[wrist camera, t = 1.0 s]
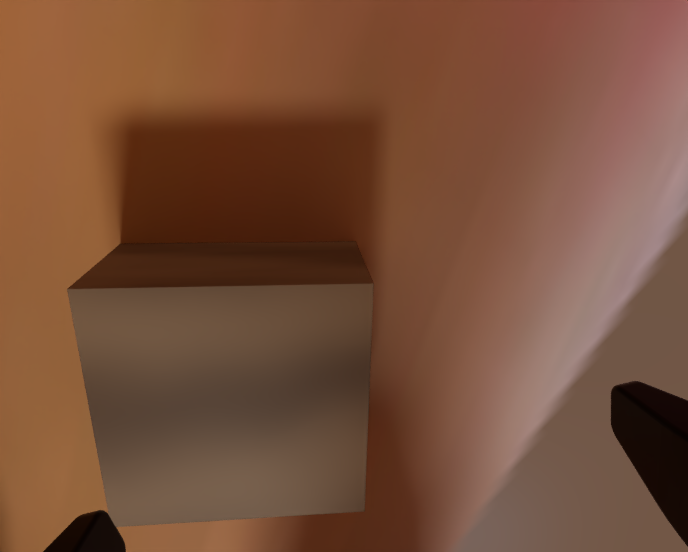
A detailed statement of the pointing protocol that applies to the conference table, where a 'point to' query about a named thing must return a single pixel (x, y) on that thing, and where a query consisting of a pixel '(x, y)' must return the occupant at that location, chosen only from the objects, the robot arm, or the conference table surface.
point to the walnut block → (227, 378)
